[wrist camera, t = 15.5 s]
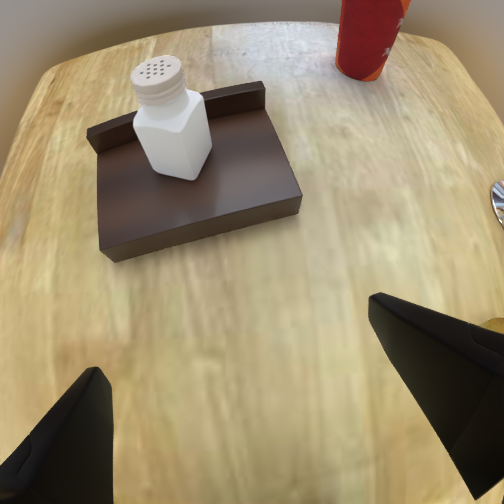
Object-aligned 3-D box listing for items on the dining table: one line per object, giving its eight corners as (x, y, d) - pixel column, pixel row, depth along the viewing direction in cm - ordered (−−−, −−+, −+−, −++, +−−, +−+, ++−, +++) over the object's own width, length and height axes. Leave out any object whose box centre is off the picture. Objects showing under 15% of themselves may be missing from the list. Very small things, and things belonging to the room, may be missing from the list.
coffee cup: (398, 87, 32) (434, -8, 18) (340, 87, 31) (365, -24, 17) (370, 51, 35) (393, -35, 21) (317, 50, 34) (330, -46, 20)
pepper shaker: (196, 185, 23) (168, 92, 14) (152, 174, 24) (111, 88, 15) (215, 146, 25) (199, 53, 16) (173, 138, 25) (144, 51, 16)
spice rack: (298, 213, 26) (307, 177, 20) (114, 263, 24) (83, 238, 19) (261, 121, 29) (261, 80, 24) (108, 163, 28) (86, 128, 23)
